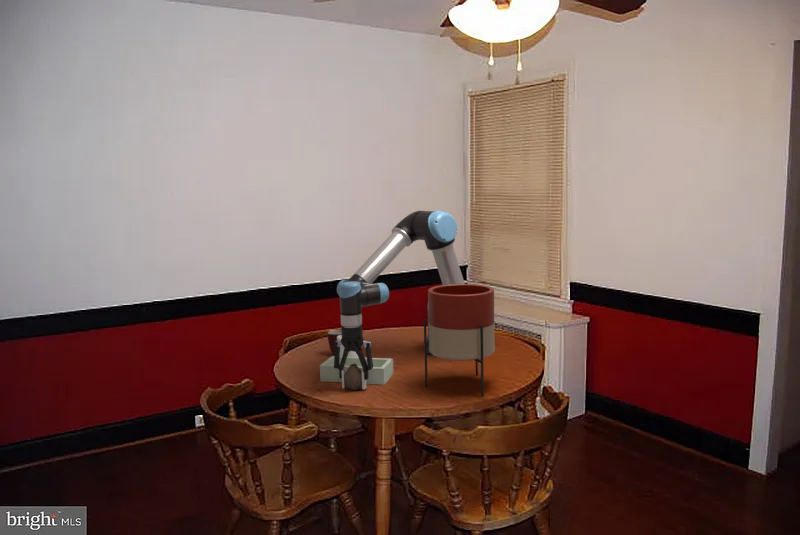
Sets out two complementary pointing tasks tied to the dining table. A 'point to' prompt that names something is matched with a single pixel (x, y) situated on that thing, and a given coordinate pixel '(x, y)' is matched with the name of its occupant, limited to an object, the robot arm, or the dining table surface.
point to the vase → (353, 377)
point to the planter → (460, 324)
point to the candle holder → (350, 354)
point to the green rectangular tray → (376, 375)
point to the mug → (333, 339)
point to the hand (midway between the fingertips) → (354, 387)
